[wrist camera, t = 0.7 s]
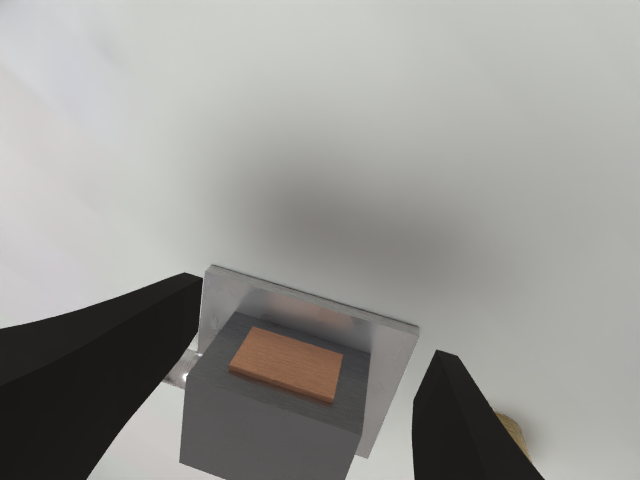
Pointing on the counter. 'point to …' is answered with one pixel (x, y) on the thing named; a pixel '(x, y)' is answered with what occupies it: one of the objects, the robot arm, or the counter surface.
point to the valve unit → (285, 381)
